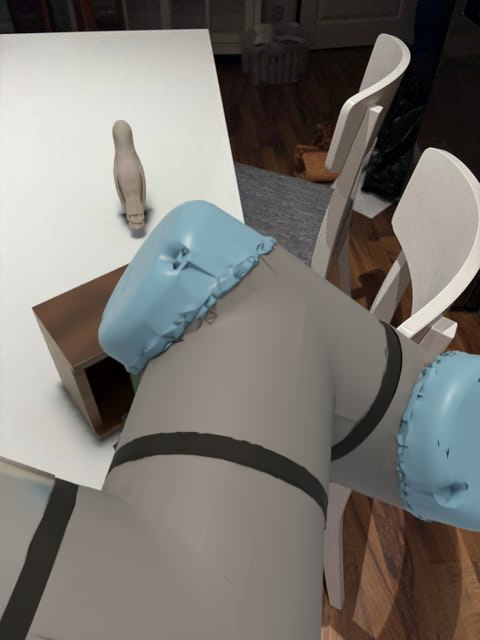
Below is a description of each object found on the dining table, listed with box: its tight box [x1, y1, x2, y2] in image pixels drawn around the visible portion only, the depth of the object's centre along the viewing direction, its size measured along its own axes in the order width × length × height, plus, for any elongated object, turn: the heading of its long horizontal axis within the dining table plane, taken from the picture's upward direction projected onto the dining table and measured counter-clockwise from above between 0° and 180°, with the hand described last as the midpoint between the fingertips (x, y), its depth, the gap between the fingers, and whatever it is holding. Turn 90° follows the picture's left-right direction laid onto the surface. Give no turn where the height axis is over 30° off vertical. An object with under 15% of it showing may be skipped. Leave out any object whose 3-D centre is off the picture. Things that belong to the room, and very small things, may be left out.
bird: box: [111, 119, 149, 230], centre depth 84 cm, size 5×14×15 cm, turn 13°
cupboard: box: [31, 262, 135, 442], centre depth 61 cm, size 10×16×14 cm, turn 128°
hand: (188, 391), depth 54 cm, fingers open, 13 cm apart
